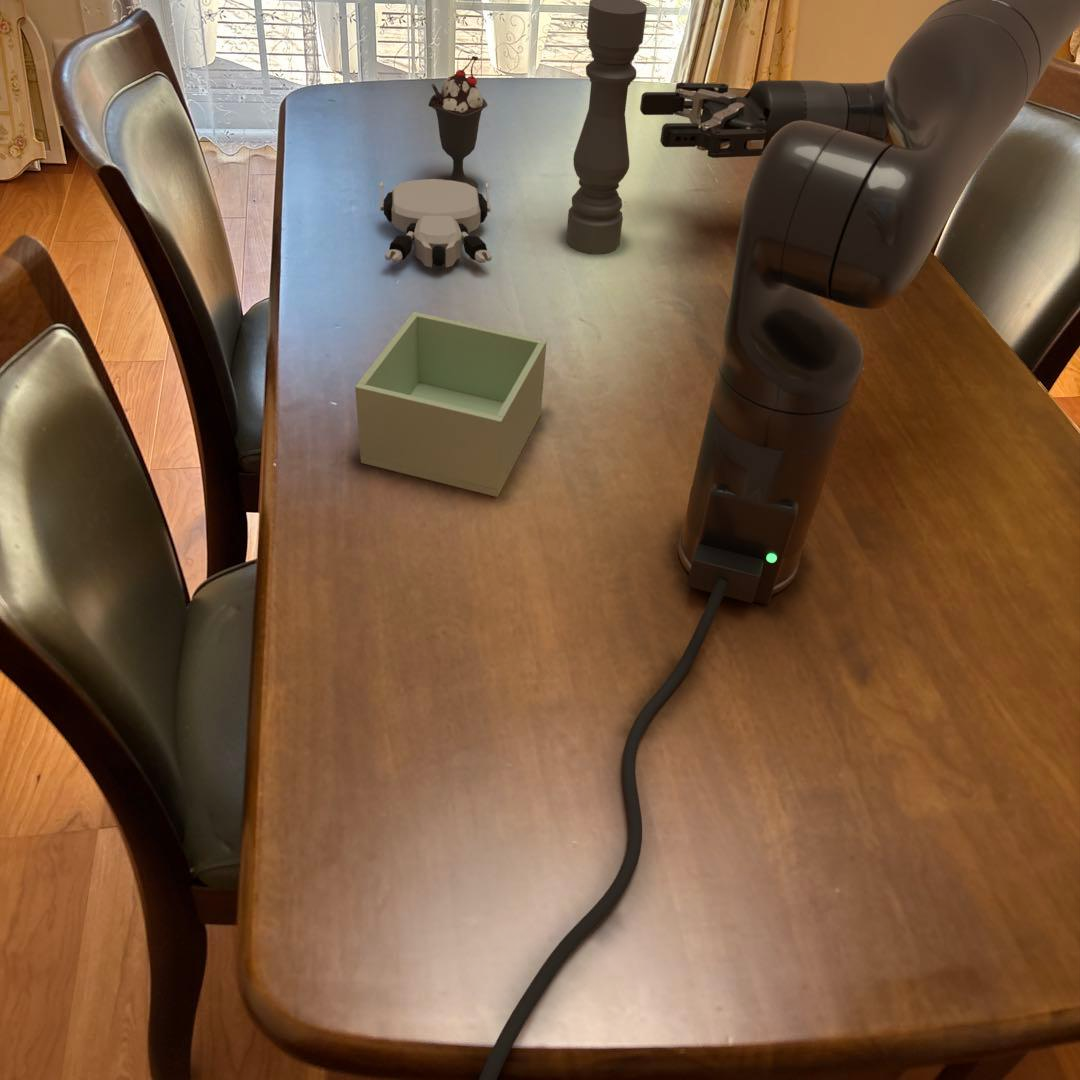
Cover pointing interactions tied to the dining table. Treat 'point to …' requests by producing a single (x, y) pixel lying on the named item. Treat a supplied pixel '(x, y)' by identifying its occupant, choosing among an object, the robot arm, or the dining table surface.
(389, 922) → the dining table surface
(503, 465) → the bin
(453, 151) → the sundae
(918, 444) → the dining table surface
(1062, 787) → the dining table surface
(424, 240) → the robot toy
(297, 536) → the dining table surface
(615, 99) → the candle holder
